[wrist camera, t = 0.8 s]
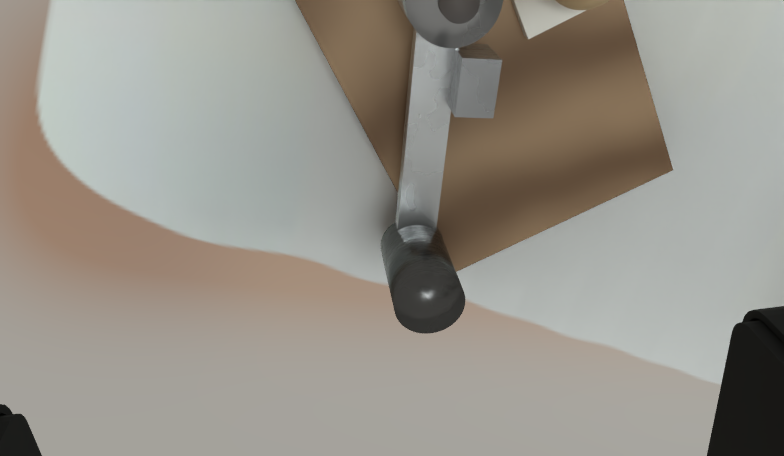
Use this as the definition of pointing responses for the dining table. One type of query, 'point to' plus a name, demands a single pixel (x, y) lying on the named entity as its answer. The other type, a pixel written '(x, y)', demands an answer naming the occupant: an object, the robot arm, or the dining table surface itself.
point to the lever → (435, 157)
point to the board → (509, 112)
